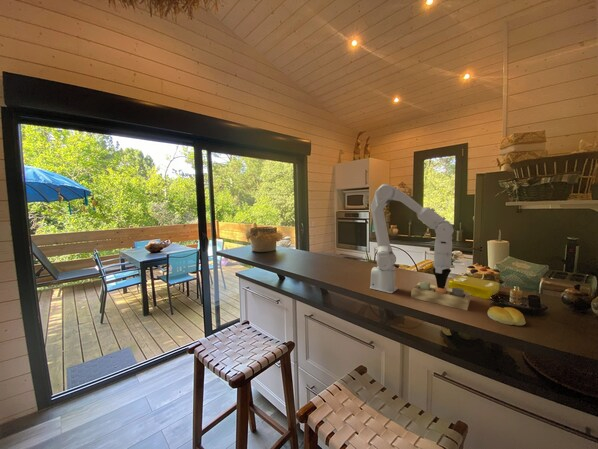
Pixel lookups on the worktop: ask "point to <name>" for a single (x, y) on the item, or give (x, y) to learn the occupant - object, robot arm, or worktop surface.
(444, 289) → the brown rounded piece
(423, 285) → the sage button
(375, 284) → the robot arm
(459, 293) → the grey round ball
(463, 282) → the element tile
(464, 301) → the button panel
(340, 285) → the worktop surface
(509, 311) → the bread roll
